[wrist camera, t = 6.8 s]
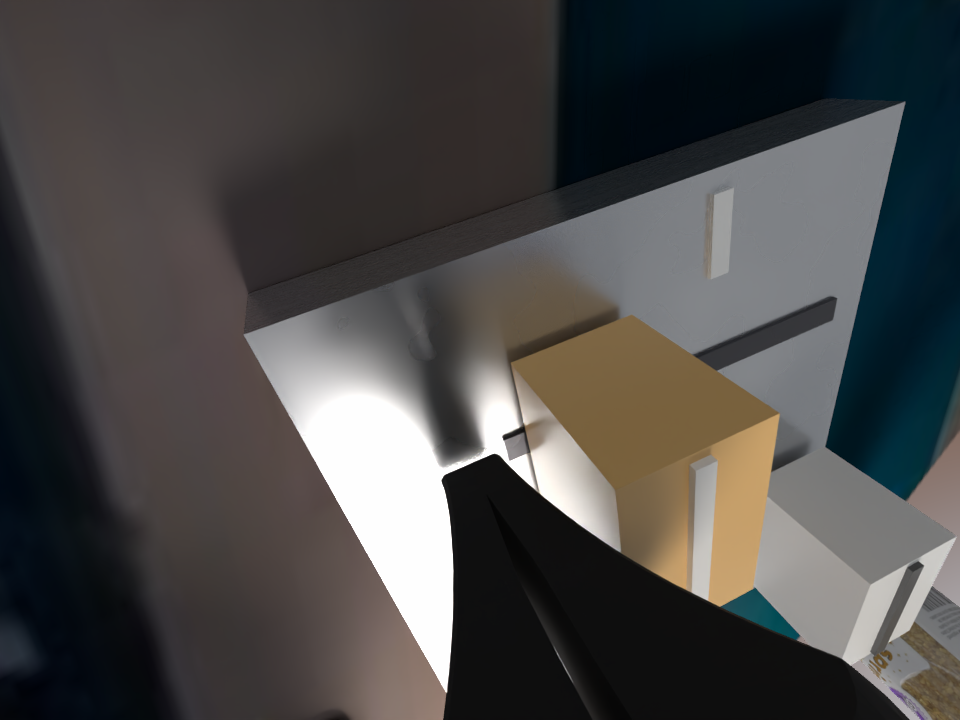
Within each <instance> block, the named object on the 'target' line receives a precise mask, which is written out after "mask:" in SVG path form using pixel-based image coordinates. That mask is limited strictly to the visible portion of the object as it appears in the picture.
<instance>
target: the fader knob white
mask: <svg viewBox="0 0 960 720" xmlns="http://www.w3.org/2000/svg"><path fill="white" fill-rule="evenodd" d="M956 537H957V536H956V535H955V534H953V533H952V532H950V531H949V530H947V529H946V528H944V527H943V526H941V525H940V524H938V523H937V522H935V521H934V520H932V519H931V518H929V517H928V516H926V515H925V514H923V513H922V512H921V511H919V510H918V509H916V508H915V507H913V506H912V505H910V504H909V503H907V502H906V501H904V500H903V499H901V498H900V497H898V496H897V495H895V494H894V493H892V492H891V491H889V490H888V489H886V488H885V487H884V486H882V485H881V484H879V483H878V482H876V481H875V480H873V479H872V478H870V477H869V476H867V475H866V474H864V473H863V472H861V471H860V470H858V469H857V468H855V467H854V466H852V465H851V464H849V463H848V462H846V461H845V460H843V459H842V458H841V457H839V456H838V455H836V454H835V453H833V452H832V451H830V450H829V449H827V448H826V447H822V448H820V449H818V450H816V451H814V452H812V453H810V454H807V455H805V456H803V457H801V458H799V459H797V460H795V461H793V462H791V463H789V464H787V465H785V466H783V467H781V468H779V469H777V470H775V471H773V472H771V475H770V481H769V488H768V494H767V501H766V507H765V514H764V520H763V526H762V533H761V539H760V546H759V552H758V559H757V565H756V572H755V578H754V587H755V588H756V589H757V590H758V591H759V592H760V593H761V594H762V595H763V596H764V597H765V598H766V599H767V600H768V601H769V602H770V604H771V605H772V606H773V607H774V608H775V609H776V610H777V611H778V612H779V613H780V614H781V615H782V616H783V617H784V618H785V620H786V621H787V622H788V623H789V624H790V625H791V626H792V627H793V628H794V629H795V630H796V631H797V632H798V633H799V634H800V635H801V637H802V638H803V639H804V640H805V641H806V642H807V643H808V644H809V645H810V646H812V647H814V648H817V649H819V650H822V651H825V652H827V653H830V654H832V655H835V656H837V657H840V658H842V659H843V660H844V661H846V662H847V663H848V664H849V665H852V664H854V663H855V662H857V661H859V660H860V659H862V658H864V657H865V656H867V655H869V654H870V653H872V654H873V655H874V656H876V655H877V654H879V653H881V652H882V651H884V650H885V648H886V646H887V644H888V643H889V642H891V641H892V640H894V639H896V638H898V637H899V636H901V635H903V634H904V633H906V632H908V631H909V630H910V628H911V626H912V624H913V622H914V620H915V618H916V616H917V615H918V613H919V611H920V609H921V607H922V605H923V603H924V601H925V599H926V597H927V595H928V593H929V591H930V589H931V587H932V585H933V583H934V580H935V579H936V577H937V575H938V573H939V571H940V569H941V567H942V565H943V563H944V561H945V559H946V557H947V555H948V553H949V551H950V549H951V547H952V545H953V543H954V541H955V539H956Z"/></svg>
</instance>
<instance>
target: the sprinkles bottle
mask: <svg viewBox="0 0 960 720" xmlns="http://www.w3.org/2000/svg"><path fill="white" fill-rule="evenodd" d="M860 660H861V661H862V662H863V663H864V664H865V665H866V666H867V667H868V668H869V669H870V670H871V671H872V672H873V673H874V674H875V675H876V676H877V677H878V678H879V679H880V680H881V681H882V682H883V683H884V684H885V685H886V686H887V687H888V688H889V689H890V690H891V691H892V692H894V694H895V695H897V696H898V697H899V698H900V699H901V700H902V701H903V703H905V704H906V705H907V706H908V707H909V708H910V709H911V710H912V711H913V712H914V713H915V714H916V715H917V716H918V717H919V718H920V719H921V720H960V607H958V606H957V605H956V604H955V603H953V602H952V601H951V600H949V599H948V598H947V597H945V596H944V595H943V594H942V593H940V592H939V591H938V590H936V589H935V588H934V587H933V586H932V587H931V589H930V591H929V593H928V595H927V597H926V599H925V601H924V603H923V605H922V607H921V609H920V611H919V613H918V615H917V616H916V618H915V620H914V622H913V624H912V626H911V628H910V630H909V631H908V632H906V633H904V634H903V635H901V636H899V637H898V638H896V639H894V640H892V641H891V642H889V643H888V644H887V646H886V648H885V650H884V651H882V652H881V653H879V654H877V655H876V656H874V655H873V654H872V653H870V654H869V655H867V656H865V657H864V658H862V659H860Z"/></svg>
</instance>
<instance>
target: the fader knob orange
mask: <svg viewBox="0 0 960 720" xmlns="http://www.w3.org/2000/svg"><path fill="white" fill-rule="evenodd" d="M511 367H512V372H513V376H514V381H515V385H516V390H517V394H518V399H519V403H520V407H521V412H522V416H523V421H524V425H525V430H526V434H527V439H528V443H529V448H530V452H531V457H532V461H533V465H534V470H535V474H536V479H537V483H538V488H539V492H540V494H541V495H542V496H543V497H544V498H545V499H547V500H548V501H549V502H551V503H552V504H553V505H554V506H556V507H557V508H558V509H559V510H561V511H562V512H563V513H564V514H566V515H567V516H568V517H570V518H571V519H572V520H574V521H575V522H576V523H578V524H579V525H580V526H582V527H583V528H585V529H586V530H588V531H589V532H590V533H592V534H593V535H595V536H596V537H598V538H599V539H600V540H602V541H603V542H605V543H606V544H608V545H609V546H611V547H612V548H614V549H616V550H617V551H619V552H620V553H622V554H623V555H625V556H627V557H628V558H630V559H632V560H633V561H635V562H637V563H638V564H640V565H642V566H643V567H645V568H647V569H649V570H650V571H652V572H654V573H656V574H657V575H659V576H661V577H663V578H664V579H666V580H668V581H670V582H672V583H674V584H675V585H677V586H679V587H681V588H683V589H685V590H687V591H689V592H691V593H693V594H695V595H697V596H699V597H701V598H703V599H705V600H707V601H709V602H711V603H713V604H715V605H717V606H719V607H720V606H722V605H724V604H726V603H727V602H729V601H731V600H733V599H735V598H737V597H739V596H741V595H742V594H744V593H746V592H748V591H750V590H752V589H753V585H754V578H755V572H756V565H757V559H758V552H759V546H760V539H761V533H762V526H763V520H764V514H765V507H766V501H767V494H768V488H769V481H770V475H771V468H772V462H773V455H774V449H775V443H776V436H777V430H778V423H779V417H780V413H779V412H777V411H776V410H774V409H773V408H771V407H770V406H768V405H767V404H765V403H764V402H762V401H761V400H759V399H758V398H756V397H755V396H753V395H752V394H750V393H749V392H747V391H746V390H744V389H743V388H741V387H740V386H738V385H737V384H735V383H734V382H732V381H731V380H729V379H728V378H726V377H725V376H723V375H722V374H720V373H719V372H717V371H716V370H714V369H713V368H711V367H710V366H708V365H707V364H705V363H704V362H702V361H701V360H699V359H698V358H696V357H695V356H693V355H692V354H690V353H689V352H687V351H686V350H684V349H683V348H681V347H680V346H678V345H677V344H675V343H674V342H672V341H671V340H669V339H668V338H666V337H665V336H663V335H662V334H660V333H659V332H657V331H656V330H654V329H653V328H651V327H650V326H648V325H647V324H645V323H644V322H642V321H641V320H639V319H638V318H636V317H635V316H634V315H629V316H627V317H624V318H622V319H619V320H617V321H614V322H612V323H609V324H607V325H604V326H602V327H599V328H597V329H594V330H592V331H589V332H587V333H584V334H582V335H579V336H577V337H574V338H572V339H569V340H567V341H564V342H562V343H559V344H557V345H554V346H552V347H549V348H547V349H544V350H542V351H539V352H537V353H534V354H532V355H529V356H526V357H524V358H521V359H519V360H516V361H514V362H511Z"/></svg>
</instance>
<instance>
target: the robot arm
mask: <svg viewBox="0 0 960 720" xmlns="http://www.w3.org/2000/svg"><path fill="white" fill-rule="evenodd" d="M441 483H442V486H443V489H444V492H445V497H446V501H447V506H448V513H449V521H450V529H451V544H452V559H453V615H452V636H451V651H450V664H449V674H448V683H447V693H446V702H445V710H444V718H443V720H909V719H908V718H907V717H906V716H905V714H904V713H902V712H901V710H900V709H899V708H898V707H896V705H895V704H894V703H892V701H891V700H890V699H889V698H888V697H887V696H886V695H885V694H883V693H882V692H881V691H880V690H879V689H878V688H876V687H875V686H874V685H873V684H872V683H871V682H870V681H868V680H867V679H866V678H865V677H864V676H862V675H861V674H860V673H859V672H858V671H856V670H855V669H854V668H853V667H852V666H850V665H849V664H848V663H847V662H846V661H844V660H843V659H842V658H840V657H837V656H835V655H832V654H830V653H827V652H825V651H822V650H819V649H817V648H814V647H812V646H809V645H807V644H804V643H801V642H799V641H797V640H794V639H792V638H789V637H787V636H784V635H782V634H780V633H777V632H775V631H772V630H770V629H768V628H765V627H763V626H761V625H759V624H756V623H754V622H752V621H750V620H747V619H745V618H743V617H741V616H738V615H736V614H734V613H732V612H729V611H727V610H725V609H723V608H721V607H719V606H717V605H715V604H713V603H711V602H709V601H707V600H705V599H703V598H701V597H699V596H697V595H695V594H693V593H691V592H689V591H687V590H685V589H683V588H681V587H679V586H677V585H675V584H674V583H672V582H670V581H668V580H666V579H664V578H663V577H661V576H659V575H657V574H656V573H654V572H652V571H650V570H649V569H647V568H645V567H643V566H642V565H640V564H638V563H637V562H635V561H633V560H632V559H630V558H628V557H627V556H625V555H623V554H622V553H620V552H619V551H617V550H616V549H614V548H612V547H611V546H609V545H608V544H606V543H605V542H603V541H602V540H600V539H599V538H598V537H596V536H595V535H593V534H592V533H590V532H589V531H588V530H586V529H585V528H583V527H582V526H580V525H579V524H578V523H576V522H575V521H574V520H572V519H571V518H570V517H568V516H567V515H566V514H564V513H563V512H562V511H561V510H559V509H558V508H557V507H556V506H554V505H553V504H552V503H551V502H549V501H548V500H547V499H545V498H544V497H543V496H542V495H541V494H540V493H538V492H537V491H536V490H535V489H534V488H533V487H531V486H530V485H529V484H528V483H527V482H526V481H525V480H524V479H523V478H522V477H520V476H519V475H518V474H517V473H516V472H515V471H514V470H513V469H512V468H511V467H510V466H509V465H508V464H507V463H506V462H505V461H504V459H503V458H502V457H501V456H500V455H498V454H495V453H493V454H491V455H489V456H486V457H484V458H482V459H479V460H477V461H475V462H472V463H470V464H468V465H465V466H463V467H461V468H459V469H456V470H454V471H452V472H449V473H447V474H445V475H444V476H443V477H442V479H441ZM557 653H558V654H557ZM558 655H559V656H558ZM559 657H560V658H559ZM560 659H561V660H560ZM561 661H562V662H561ZM562 663H563V664H564V665H563V664H562ZM564 666H565V667H564ZM565 668H566V669H565ZM566 670H567V671H566ZM567 672H568V673H567ZM568 674H569V675H568ZM569 676H570V677H569ZM570 678H571V679H570Z"/></svg>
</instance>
